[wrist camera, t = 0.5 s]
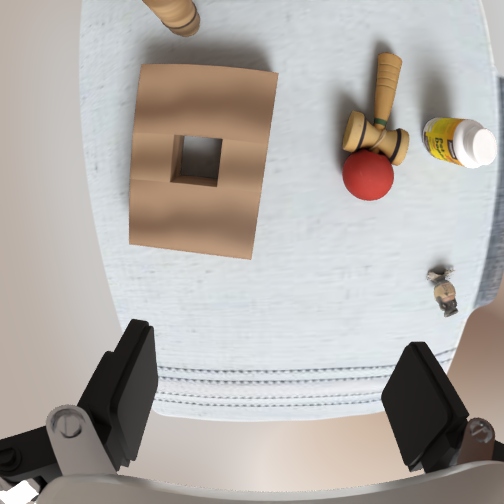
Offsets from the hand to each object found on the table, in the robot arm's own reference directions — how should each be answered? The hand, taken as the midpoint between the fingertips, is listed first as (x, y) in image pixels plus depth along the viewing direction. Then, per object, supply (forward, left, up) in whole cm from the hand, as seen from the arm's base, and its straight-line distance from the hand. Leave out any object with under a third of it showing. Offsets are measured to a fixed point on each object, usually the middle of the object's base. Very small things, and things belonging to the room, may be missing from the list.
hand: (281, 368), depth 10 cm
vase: (+9, +29, -29) cm, 42 cm away
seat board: (-4, -7, -28) cm, 29 cm away
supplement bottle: (-12, +22, -29) cm, 38 cm away
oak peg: (-20, -11, -28) cm, 36 cm away
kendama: (-11, +12, -29) cm, 33 cm away
